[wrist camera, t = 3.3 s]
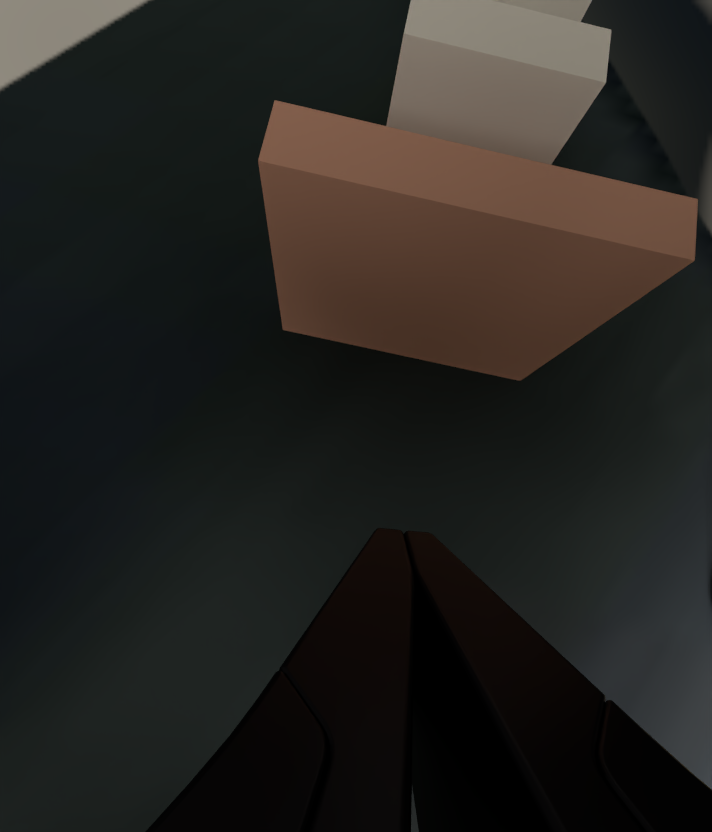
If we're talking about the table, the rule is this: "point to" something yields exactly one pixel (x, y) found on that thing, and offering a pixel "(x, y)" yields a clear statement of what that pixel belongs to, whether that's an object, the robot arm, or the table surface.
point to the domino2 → (496, 76)
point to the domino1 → (454, 243)
